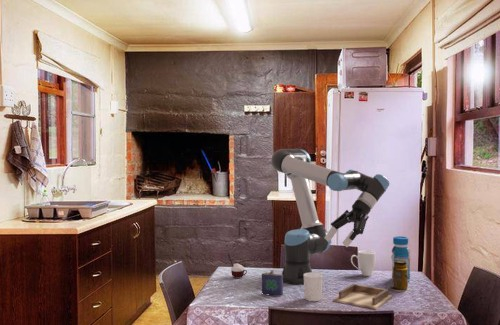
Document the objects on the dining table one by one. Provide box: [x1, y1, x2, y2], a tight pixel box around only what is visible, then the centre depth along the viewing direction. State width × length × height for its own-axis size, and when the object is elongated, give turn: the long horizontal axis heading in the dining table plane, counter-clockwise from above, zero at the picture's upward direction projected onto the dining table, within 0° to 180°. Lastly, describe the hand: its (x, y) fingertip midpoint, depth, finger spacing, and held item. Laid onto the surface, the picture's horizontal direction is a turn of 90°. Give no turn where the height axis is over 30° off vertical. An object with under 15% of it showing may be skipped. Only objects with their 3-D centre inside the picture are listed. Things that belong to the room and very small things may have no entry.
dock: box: [332, 283, 393, 310], centre depth 186 cm, size 18×18×3 cm
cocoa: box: [226, 252, 248, 278], centre depth 223 cm, size 10×6×12 cm, turn 82°
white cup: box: [303, 271, 324, 302], centre depth 188 cm, size 8×8×10 cm
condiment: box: [386, 260, 412, 293], centre depth 201 cm, size 7×8×12 cm
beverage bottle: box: [390, 235, 411, 282], centre depth 215 cm, size 8×8×20 cm
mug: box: [350, 249, 376, 277], centre depth 224 cm, size 12×8×11 cm
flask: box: [261, 269, 284, 295], centre depth 194 cm, size 9×3×11 cm, turn 74°
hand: (335, 242), depth 191 cm, fingers open, 13 cm apart
